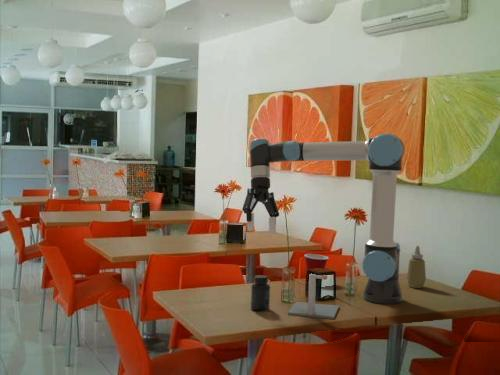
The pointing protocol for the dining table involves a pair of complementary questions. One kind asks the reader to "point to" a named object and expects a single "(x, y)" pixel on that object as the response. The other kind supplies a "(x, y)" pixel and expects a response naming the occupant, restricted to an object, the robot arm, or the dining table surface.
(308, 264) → the plastic cup
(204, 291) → the dining table surface
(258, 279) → the supplement bottle
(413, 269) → the squeeze bottle
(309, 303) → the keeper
